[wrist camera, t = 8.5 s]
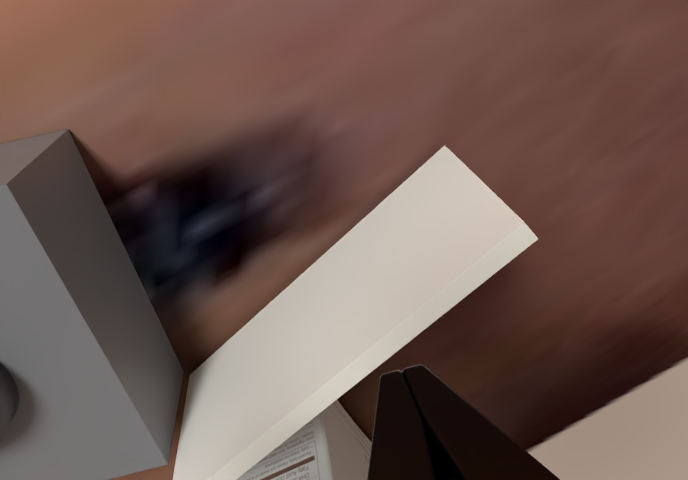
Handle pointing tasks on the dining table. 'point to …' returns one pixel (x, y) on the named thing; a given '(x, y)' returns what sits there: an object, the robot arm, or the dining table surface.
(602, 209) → the dining table surface
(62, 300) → the camera case
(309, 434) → the supplement box
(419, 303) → the side door
